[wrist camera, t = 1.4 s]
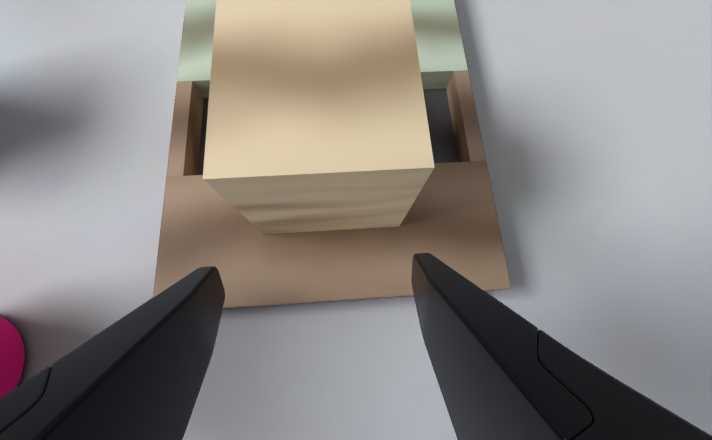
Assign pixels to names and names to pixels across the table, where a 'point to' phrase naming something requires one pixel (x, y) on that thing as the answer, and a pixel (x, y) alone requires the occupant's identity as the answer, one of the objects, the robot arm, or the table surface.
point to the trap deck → (334, 247)
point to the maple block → (316, 113)
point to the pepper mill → (10, 357)
